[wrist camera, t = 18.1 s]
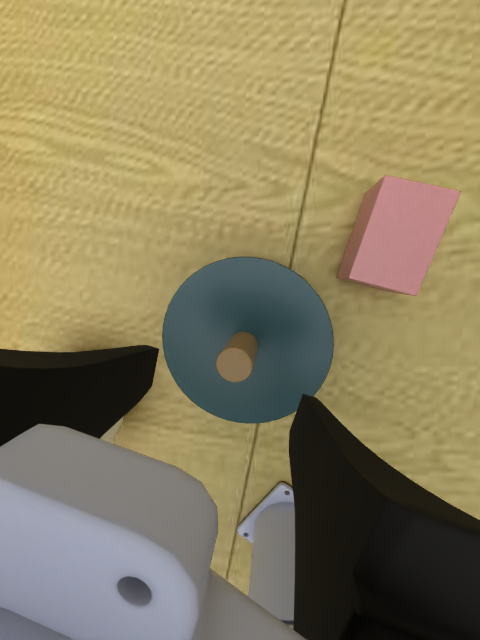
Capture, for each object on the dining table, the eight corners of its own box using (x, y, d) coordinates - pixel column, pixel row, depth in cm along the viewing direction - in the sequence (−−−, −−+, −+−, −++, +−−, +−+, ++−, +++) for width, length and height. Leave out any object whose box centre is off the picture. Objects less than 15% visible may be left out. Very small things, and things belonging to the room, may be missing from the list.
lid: (368, 325, 17) (404, 345, 12) (263, 444, 21) (259, 498, 16) (223, 222, 18) (202, 202, 13) (141, 355, 21) (99, 381, 16)
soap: (427, 206, 18) (461, 191, 14) (392, 292, 19) (416, 296, 16) (365, 192, 18) (385, 174, 15) (336, 277, 19) (348, 278, 16)
